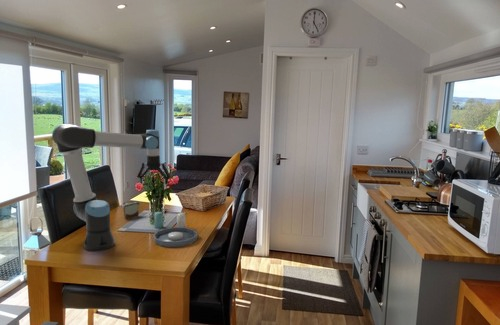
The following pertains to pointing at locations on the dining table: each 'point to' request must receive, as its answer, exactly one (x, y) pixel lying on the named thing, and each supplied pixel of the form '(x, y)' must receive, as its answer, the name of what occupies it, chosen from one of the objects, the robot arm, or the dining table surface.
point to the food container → (131, 209)
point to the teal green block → (158, 219)
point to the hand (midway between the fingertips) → (154, 189)
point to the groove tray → (169, 243)
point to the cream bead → (181, 220)
